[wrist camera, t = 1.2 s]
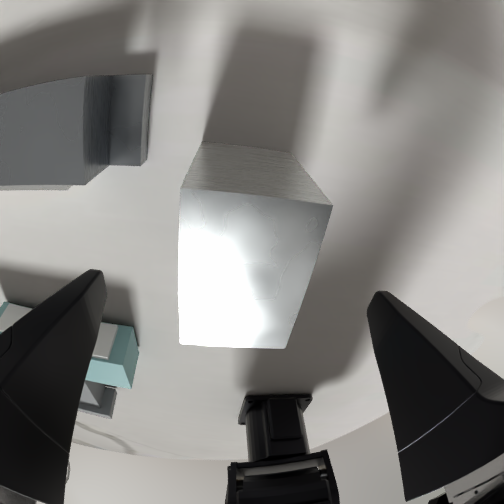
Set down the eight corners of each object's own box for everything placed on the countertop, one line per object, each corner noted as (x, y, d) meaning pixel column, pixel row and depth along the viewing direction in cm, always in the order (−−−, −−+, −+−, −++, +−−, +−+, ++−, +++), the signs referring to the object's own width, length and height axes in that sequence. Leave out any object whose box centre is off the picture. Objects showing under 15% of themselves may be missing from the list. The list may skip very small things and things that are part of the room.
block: (267, 260, 16) (285, 348, 11) (193, 254, 15) (180, 343, 10) (290, 152, 12) (332, 205, 7) (201, 141, 12) (180, 187, 7)
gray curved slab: (146, 165, 12) (121, 194, 9) (-42, 173, 10) (-75, 196, 7) (152, 74, 10) (125, 72, 7) (-47, 113, 8) (-83, 129, 5)
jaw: (151, 398, 23) (147, 427, 20) (46, 375, 21) (37, 399, 19) (132, 323, 17) (121, 362, 15) (3, 298, 16) (-15, 326, 13)
